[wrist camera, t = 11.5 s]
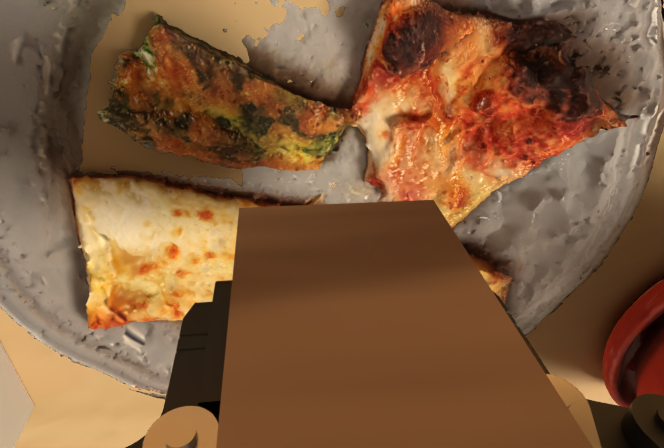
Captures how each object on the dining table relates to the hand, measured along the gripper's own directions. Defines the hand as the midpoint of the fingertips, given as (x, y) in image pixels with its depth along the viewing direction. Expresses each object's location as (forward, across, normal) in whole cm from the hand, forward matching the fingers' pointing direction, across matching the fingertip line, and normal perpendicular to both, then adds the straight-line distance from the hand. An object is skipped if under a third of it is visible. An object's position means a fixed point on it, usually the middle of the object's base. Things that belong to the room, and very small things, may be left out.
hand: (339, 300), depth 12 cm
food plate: (+7, 0, 0) cm, 7 cm away
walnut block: (+1, 0, 0) cm, 1 cm away
